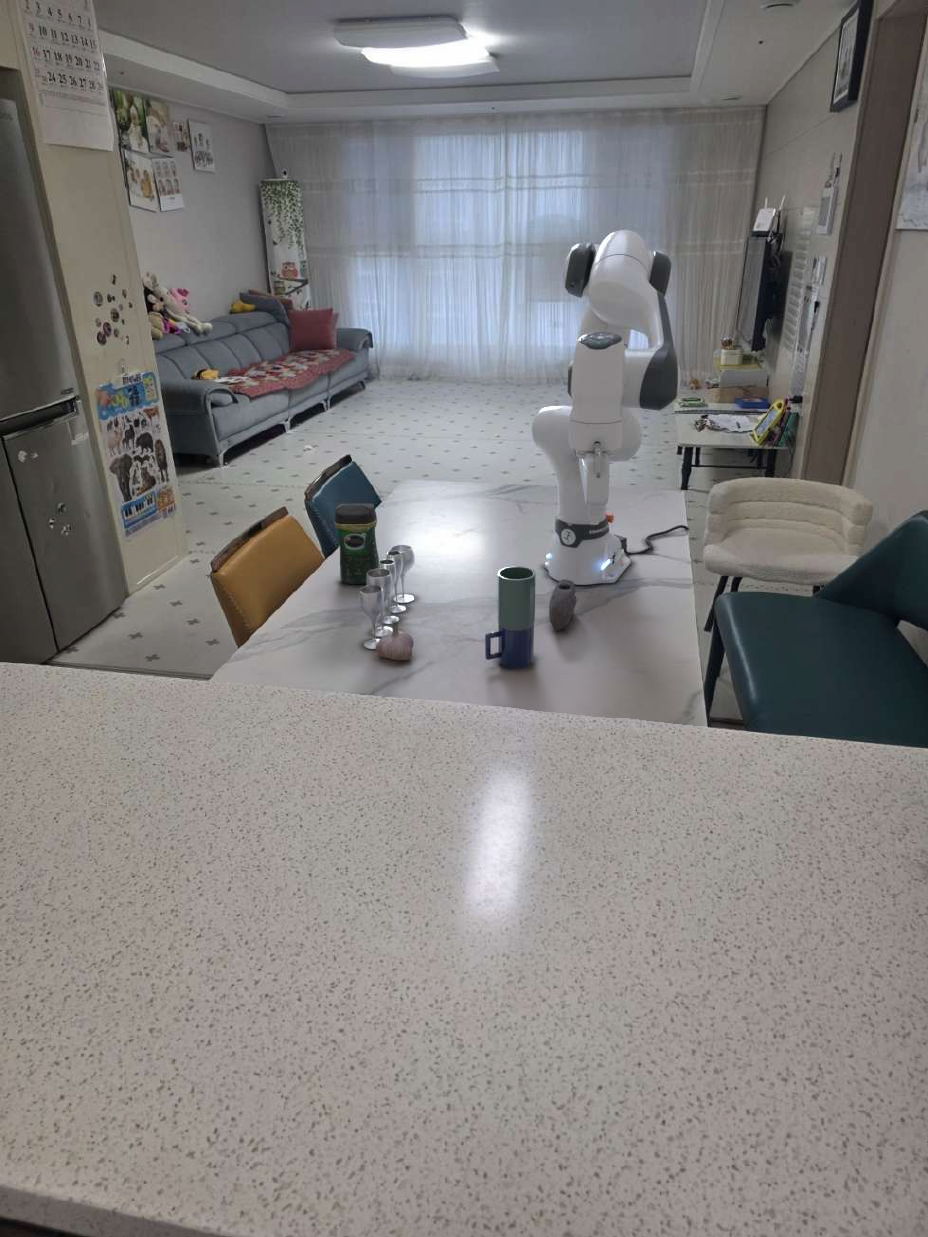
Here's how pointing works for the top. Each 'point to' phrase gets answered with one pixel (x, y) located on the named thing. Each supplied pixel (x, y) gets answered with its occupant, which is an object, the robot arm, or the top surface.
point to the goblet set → (386, 590)
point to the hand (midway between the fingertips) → (591, 514)
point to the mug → (512, 647)
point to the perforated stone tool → (562, 604)
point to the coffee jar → (356, 541)
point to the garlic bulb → (395, 644)
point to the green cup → (516, 598)
